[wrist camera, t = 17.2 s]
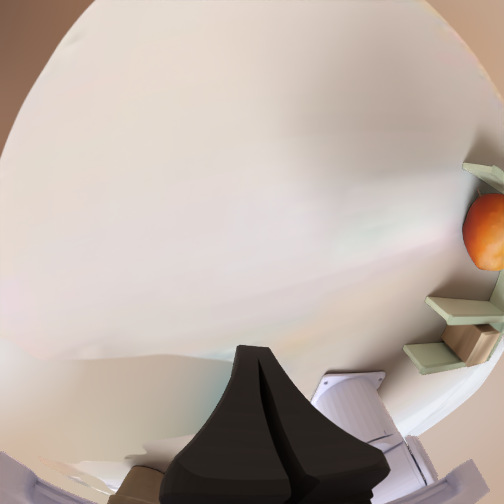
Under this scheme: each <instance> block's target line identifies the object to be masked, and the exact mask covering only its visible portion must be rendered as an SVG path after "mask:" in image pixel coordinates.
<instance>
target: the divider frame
mask: <svg viewBox="0 0 504 504" xmlns="http://www.w3.org/2000/svg"><path fill="white" fill-rule="evenodd" d="M463 169H465V170H466V171H468V172H470V173H471V174H473V175H475V176H476V177H478V178H480V179H481V180H483V181H484V182H486V183H487V184H489V185H490V186H492V187H493V188H495V189H496V190H498V191H499V192H501V193H502V194H504V171H502V170H501V169H500V168H499V167H497V166H495V165H492V167H491V166H485V165H478V164H471V163H463ZM425 302H426V303H427V304H428V305H429V306H430V307H432V308H433V309H434V310H435V311H436V312H437V313H438V314H439V315H441V316H442V317H443V318H444V319H445V320H446V321H447V322H446V323H447V324H448V325H470V324H490V325H491V326H492V327H493V328H495V329H496V330H497V331H499V332H500V333H501V334H500V336H499V337H498V339H497V341H496V343H495V345H494V347H493V349H492V350H491V352H490V354H489V356H488V357H487V359H486V361H488V360H489V359H490V358H491V356H492V354H493V352H494V351H495V349H496V347H497V345H498V343H499V342H500V340H501V338H502V336H503V334H504V269H502V270H501V272H500V274H499V277H498V280H497V283H496V285H495V288H494V291H493V293H492V296H491V298H490V300H489V301H477V300H464V299H451V298H439V297H427V298H426V300H425ZM403 350H404V351H405V353H406V354H407V355H408V356H409V358H410V359H411V360H412V362H413V363H414V364H415V365H416V367H417V368H418V369H419V371H420V372H419V373H420V374H421V375H426V374H432V373H438V372H443V371H448V370H453V369H458V368H462V367H466V365H465V363H464V362H463V361H462V360H461V358H460V357H459V356H458V355H457V354H456V353H455V352H454V351H453V350H452V349H451V348H450V347H449V346H448V345H447V344H446V343H445V342H441V343H427V344H410V345H405V346H404V348H403ZM486 361H485V362H486Z"/></svg>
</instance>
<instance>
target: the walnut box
mask: <svg viewBox="0 0 504 504" xmlns="http://www.w3.org/2000/svg"><path fill="white" fill-rule="evenodd" d="M500 334H501V333H500V332H499V331H497V330H496V329H495V328H493V327H492V326H491V325H490V324H470V325H448V324H447V326H446V328H445V330H444V332H443V334H442V336H441V339H442V340H443V341H444V342H445V343H446V344H447V345H448V346H449V347H450V348H451V349H452V350H453V351H454V352H455V353H456V354H457V355H458V356H459V357H460V358H461V360H462V361H463V362H464V363H465V365H466V366H467V367H470V366H474V365H477V364H481V363H485V361H486V359H487V357H488V356H489V354H490V352H491V350H492V349H493V347H494V345H495V343H496V341H497V339H498V337H499V336H500Z"/></svg>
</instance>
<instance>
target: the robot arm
mask: <svg viewBox="0 0 504 504" xmlns="http://www.w3.org/2000/svg"><path fill="white" fill-rule="evenodd" d="M385 376H386V374H385V372H369V373H349V374H326V375H324V376H323V378H322V380H321V382H320V384H319V386H318V388H317V390H316V392H315V394H314V396H313V398H312V400H311V402H309V401H308V400H307V399H306V398H305V396H304V395H303V394H302V393H301V392H300V391H299V390H298V388H297V387H296V386H295V385H294V383H293V382H292V381H291V379H290V378H289V377H288V375H287V374H286V373H285V371H284V370H283V368H282V367H281V365H280V364H279V362H278V361H277V359H276V358H275V356H274V355H273V353H272V351H271V350H270V348H269V347H257V346H247V345H239V346H237V348H236V353H235V358H234V363H233V369H232V374H231V378H230V380H229V383H228V385H227V387H226V389H225V391H224V393H223V396H222V398H221V399H220V401H219V403H218V404H217V406H216V408H215V409H214V411H213V412H212V414H211V416H210V417H209V419H208V420H207V421H206V423H205V424H204V425H203V427H202V428H201V429H200V431H199V432H198V433H197V434H196V435H195V436H194V438H193V439H192V440H191V441H190V442H189V443H188V444H187V445H186V446H185V447H184V448H183V449H182V450H181V451H180V452H179V453H178V454H177V455H176V456H175V458H174V460H173V461H172V463H171V464H170V466H169V468H168V469H167V471H166V473H165V475H164V476H163V479H162V481H161V484H160V490H159V502H160V504H475V503H476V502H477V501H478V500H479V499H481V498H482V497H483V496H485V495H486V494H487V493H488V492H489V490H490V489H489V488H488V486H487V484H486V483H485V481H484V479H483V477H482V475H481V474H480V472H479V471H478V469H477V467H476V465H475V463H474V462H473V460H472V459H469V460H468V461H466V462H464V463H463V464H461V465H459V466H458V467H456V468H455V469H453V470H452V471H451V472H450V473H448V474H447V475H446V477H444V478H442V479H440V480H438V478H437V473H436V471H435V469H434V467H433V465H432V463H431V461H430V459H429V457H428V455H427V453H426V451H425V449H424V448H423V446H422V444H421V443H420V441H419V439H418V438H417V436H411V435H408V436H407V437H405V440H406V442H407V443H408V446H407V444H406V442H405V441H404V439H403V437H402V436H401V434H400V432H399V431H398V430H397V428H396V426H395V424H394V422H393V420H392V418H391V417H390V415H389V413H388V411H387V409H386V407H385V406H384V404H383V402H382V400H381V398H380V396H379V395H378V393H377V389H378V388H379V386H380V384H381V383H382V381H383V379H384V378H385ZM408 447H409V448H408ZM409 449H410V450H409ZM410 451H411V452H410ZM411 453H412V454H411ZM421 472H422V473H421ZM422 474H423V475H422ZM423 476H424V478H425V480H424V478H423ZM0 504H97V503H95V502H92V501H89V500H87V499H84V498H82V497H79V496H77V495H74V494H72V493H70V492H67V491H65V490H63V489H61V488H58V487H56V486H54V485H52V484H50V483H48V482H46V481H44V480H42V479H41V478H39V477H37V475H36V474H35V473H34V472H33V471H32V470H31V469H29V468H28V467H27V466H25V465H24V464H22V463H21V462H19V461H17V460H16V459H14V458H12V457H11V456H9V455H8V454H6V453H5V452H3V451H1V452H0Z"/></svg>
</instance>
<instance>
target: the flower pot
mask: <svg viewBox="0 0 504 504" xmlns="http://www.w3.org/2000/svg"><path fill="white" fill-rule="evenodd" d="M163 476H164V474H163V473H161V472H159V471H157V470H154V469H151V468H147V467H140V466H136V467H133V468H131V470H130V471H129V473H128V474H127V476H126V477H125V479H124V481H123V482H122V484H121V486H120V488H119V489H118V491H117V492H116V494H115V495H111V496H110V497H109V500H108V503H107V504H160V502H159V490H160V484H161V481H162V479H163Z"/></svg>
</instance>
